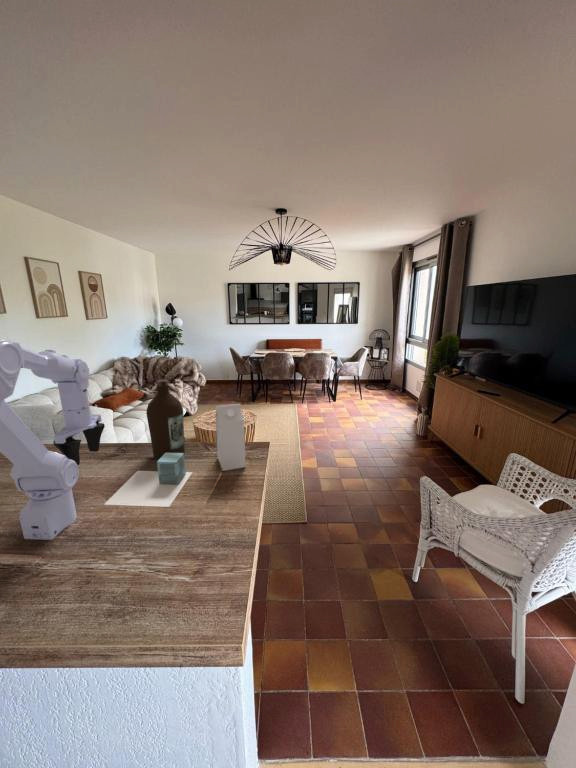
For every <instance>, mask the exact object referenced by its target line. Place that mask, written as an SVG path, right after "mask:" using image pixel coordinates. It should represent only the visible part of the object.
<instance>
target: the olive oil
mask: <svg viewBox="0 0 576 768" xmlns="http://www.w3.org/2000/svg"><path fill="white" fill-rule="evenodd" d="M155 382H156V394H155V395H154V397H153V398H152V399H151V400H150V402H149V403H148V405H147V407H146V413H145V414H146V419H147V425H148V429H149V430H148V431H149V437H150V442H151V448H152V455H153V459H156V460H159V459H160V458H161V457H162V456H163V455H164V454H165V453H184V456H185V453H186V451H185V450H186V448H185V443H186V437H185V430H184V429H185V426H184V425H185V424H184V407H183V405H182V403H181V401H180V400H179V399H178V398H177V397H175V396H174V395H173V394H171V393H170V390H169V387H170V386H169V384H168V382H169V381H168V380H167V379H159V380H158V379H157V380H156V381H155Z"/></svg>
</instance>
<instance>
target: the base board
mask: <svg viewBox="0 0 576 768" xmlns="http://www.w3.org/2000/svg"><path fill="white" fill-rule="evenodd" d="M192 474H193V471H192V472H191V471H186V475H185V477H184V478H183V479H182V481H181V482H180V484H179V485H166V484H159V475H158V470H155V471H154V470H137V471H136V472H135V473H134V474H133V475H132V476H131V477H130V478H129V479H127V481H126V482H125V483H124V484H123V485H122V486H121V487H120V488H119V489H118V490H117V491H116V492H115V493H114V494H113V495H112V496H111V497H110V498H109V499H108V500H107V501H105V503H104V504H103V505H105V506H128V507H129V506H131V507H154V508H155V507H157V508H158V507H159V508H160V507H161V508H162V507H163V508H170V506H171V505H172V504H173V502H174V501H175V499H176V498H177V496H178V495H179V493H180V491H181V490H182V488H183V487H184V485H186V483H187V482H188V479H189V478H190V477H191V475H192Z"/></svg>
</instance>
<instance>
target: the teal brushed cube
mask: <svg viewBox="0 0 576 768" xmlns="http://www.w3.org/2000/svg"><path fill="white" fill-rule="evenodd" d="M156 464H157V465H156V466H157V471H158V475H159V484H166V485H179V484H180V482H181V481H182V479H183V478H184V477H185V475H186V472H187V471H186V462H185V455H184V453H165V454H164V455H163V456H162V457H161V458H160V459H157V461H156Z"/></svg>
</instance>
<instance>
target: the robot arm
mask: <svg viewBox="0 0 576 768" xmlns="http://www.w3.org/2000/svg"><path fill="white" fill-rule="evenodd" d="M21 369H25V370H26V369H27V370H30V371H31V373H32V374H33V375H34V376H36V377H37V378H42V379H47V380H51V382H52V383H53V384H57V389H58V394H59V399H60V403H61V404H60V405H61V410H62V414H63V415H62V416H63V420H64V426H63V427H62V428H61V429H60V430H59V431H58V432H57V433H56V434H55V435H53V441H52V442H53V446H55V447H56V448H57V449H58V450H59V451H60V452H61V453H58V452H54V451H51V450H48V448H47V447H46V446H45V445H44V444H43V443H42V442H41V441H40V439H39V438H38V437H37V436H36V435H35V434H34V433H33V431H32V430H31V429H30V427H28V426H27V425H26V423H25V422H24V421H23V419H22V418H20V417H19V415H17V413H16V412H15V411H14V410H13V409H12V407H10V404H8V402H7V401H6V399H8V398H10V397H12V396H13V394H14V391H15V387H16V385H17V381H18V378H19V375H20V372H21ZM89 377H90V368H89V365H88V364H87V363H86V361H84V360H83V359H81V358H79V359H78V358H77V359H76V358H75V359H74V358H69V356H68V355H66V354H61V355H60V354H57V352H56V350H54V349H45V350H42V351H38V352H36V351H34V350H31V349H29V348H26V347H23V346H21V345H20V343H19V342H16V341H11V340H8V339H0V453H1V454H2V455H3V456H4V457H5V458H6V459H8V461H10V463H12V464H13V466H12V467H11V469H10V474H9V476H10V477H11V478H12V480H13V481H14V484H15V486H16V488H17V490H18V491H19V492H22V493H25V497H26V498H29V499H28V502H27V503H26V505H25V506H24V507H23V508H22V509H21V510H20V512H19V513H18V514H19V515H18V516H19V523H20V527H21V531H22V535H23V539H24V540H43V541H44V540H46V541H52V540H54V538H55V537H57V535H59V534H60V533H61V532H62V531H63V530H65V529H66V528H67V527H69V526H70V525H72V524H73V523H74V522H75V521H76V519H77V517H78V516H77V510H76V505H75V499H74V495H73V489H72V488H73V487H74V486H75V485H76V483H77V481H78V478H79V475H80V473H79V465H80V463H81V459H80V447H81V443H82V439H75V437H74V436H77V434H79V433H81V432H82V433H83V435H84V438H85V440H86V443H87V444H86V445H87V447H88V448H87V449H88V451H89V452H93V453H94V452H96V453H97V452H99V450H100V444H101V438H102V433H103V432H104V429H105V423H104V422H102V414H95V413H94V414H92V412H91V407H90V406H91V404H90V399H89V393H88V388H89V385H90V384H89Z"/></svg>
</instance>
